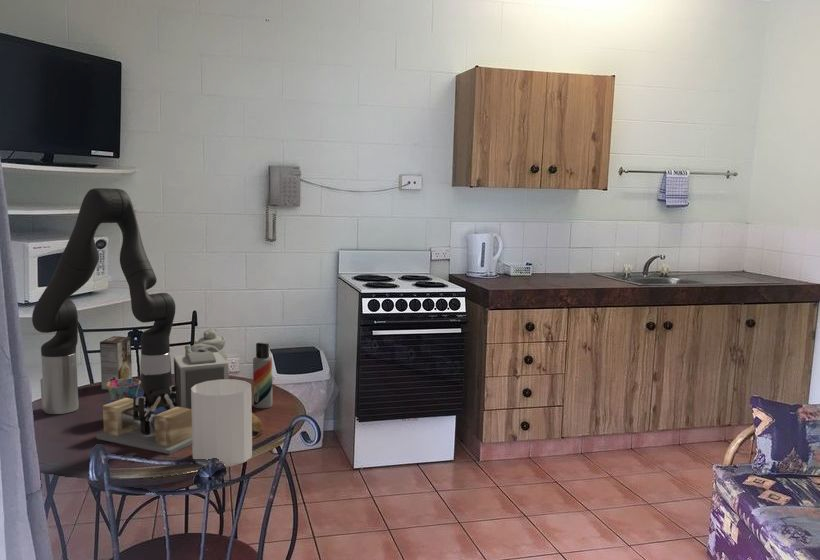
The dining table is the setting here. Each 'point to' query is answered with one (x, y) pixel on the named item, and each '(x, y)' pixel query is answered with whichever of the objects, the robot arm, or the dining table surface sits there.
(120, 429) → the guide block
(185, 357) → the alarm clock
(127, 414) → the tube
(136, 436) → the base mat
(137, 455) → the dining table surface
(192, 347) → the grey lumpy piece
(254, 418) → the bread roll
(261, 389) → the lotion bottle
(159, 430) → the socket block
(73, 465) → the dining table surface
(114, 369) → the coffee box
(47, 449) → the dining table surface
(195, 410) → the container
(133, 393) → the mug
